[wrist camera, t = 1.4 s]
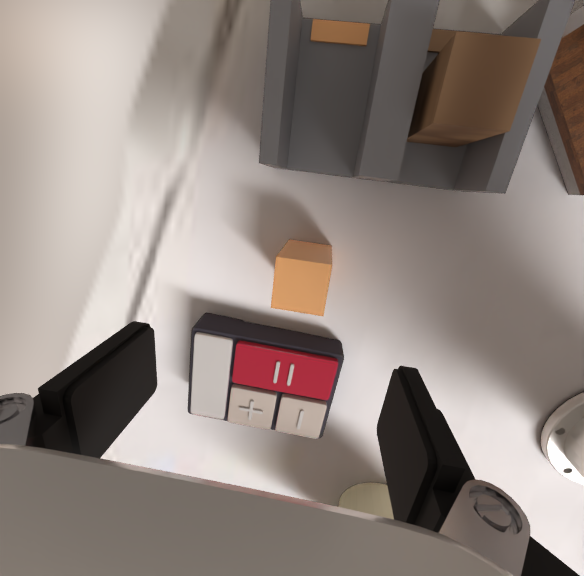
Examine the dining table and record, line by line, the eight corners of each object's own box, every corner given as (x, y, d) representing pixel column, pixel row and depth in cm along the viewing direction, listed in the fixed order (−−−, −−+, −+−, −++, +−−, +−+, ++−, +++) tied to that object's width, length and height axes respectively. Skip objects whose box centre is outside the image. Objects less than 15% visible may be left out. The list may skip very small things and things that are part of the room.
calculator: (322, 445, 31) (184, 419, 31) (321, 415, 35) (199, 391, 35) (346, 359, 27) (187, 330, 27) (342, 336, 31) (204, 310, 31)
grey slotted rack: (511, 43, 20) (580, -12, 15) (464, 191, 24) (506, 193, 18) (287, 23, 21) (272, -34, 16) (274, 167, 25) (258, 162, 19)
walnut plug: (473, 85, 20) (541, 38, 14) (456, 147, 22) (509, 131, 15) (416, 79, 21) (456, 31, 14) (402, 141, 22) (433, 122, 16)
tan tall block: (331, 245, 27) (332, 264, 20) (324, 285, 28) (323, 316, 21) (289, 239, 27) (276, 256, 20) (284, 279, 28) (270, 307, 22)
